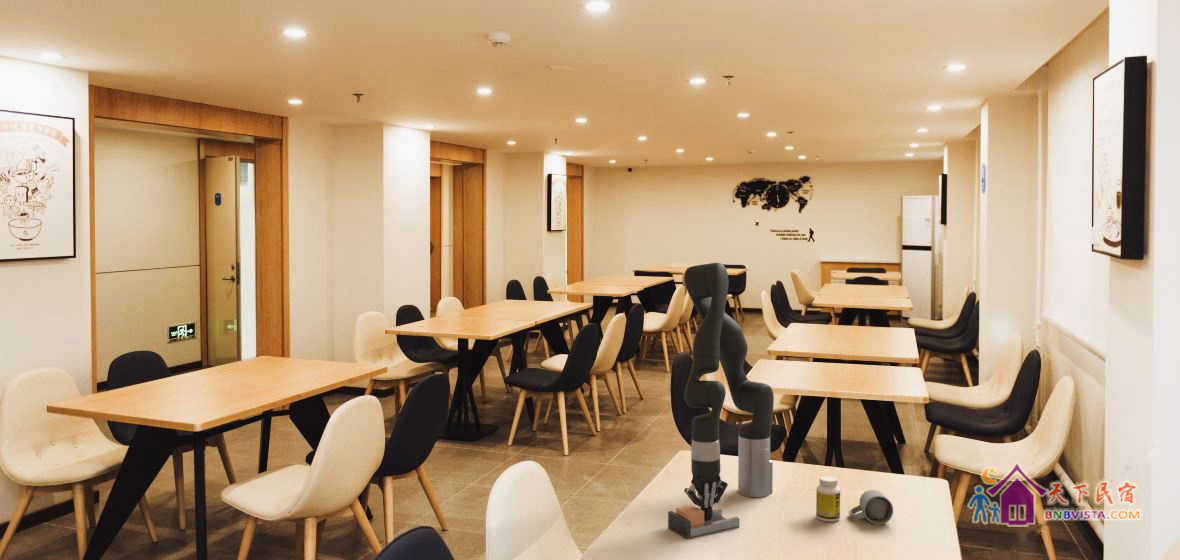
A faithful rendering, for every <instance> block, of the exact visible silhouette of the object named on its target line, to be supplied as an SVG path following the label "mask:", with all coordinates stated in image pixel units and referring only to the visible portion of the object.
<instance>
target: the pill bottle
mask: <svg viewBox="0 0 1180 560" xmlns="http://www.w3.org/2000/svg"><path fill="white" fill-rule="evenodd" d="M815 495H816V505H815V507H816V508H815V510H816V512H815V516H816V519H818V520H819V521H823V522H827V523H833V522H834V523H835V522H838V521H840V518H841V489H840V488H839V486H838V478H837V477H835V476H830V475H822V476H820V477H819V484H818V486H817V487H816V494H815Z"/></svg>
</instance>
